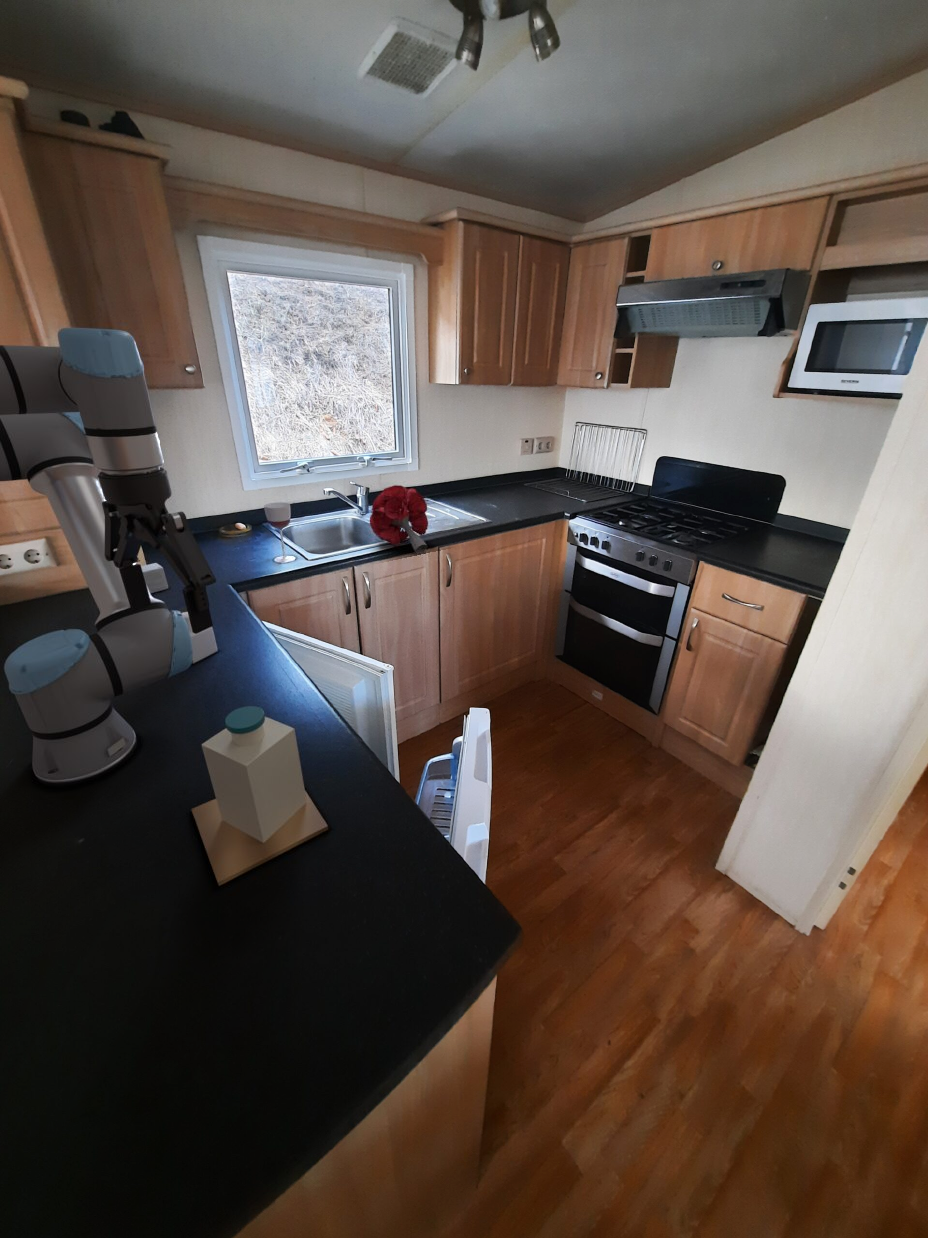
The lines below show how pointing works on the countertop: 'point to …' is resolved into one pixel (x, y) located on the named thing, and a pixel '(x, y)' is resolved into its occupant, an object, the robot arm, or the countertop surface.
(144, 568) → the product box
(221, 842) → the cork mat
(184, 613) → the medicine bottle
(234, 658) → the countertop surface
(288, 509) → the wineglass
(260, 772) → the drink carton
